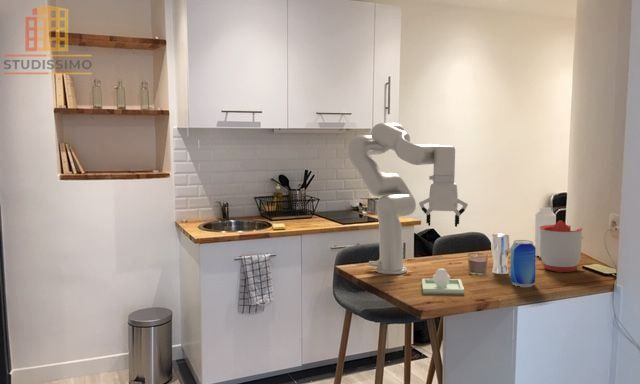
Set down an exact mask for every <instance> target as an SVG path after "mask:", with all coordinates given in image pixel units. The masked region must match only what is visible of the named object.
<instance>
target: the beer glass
mask: <svg viewBox="0 0 640 384" xmlns="http://www.w3.org/2000/svg"><path fill="white" fill-rule="evenodd" d="M490 243H491V244H490V248H491V257H492V262H493V266H492V271H491V272H492V273H493V274H495V275H507V274H509V269H508V268H509V267H508V260H509V256H510V251H511V246H510V243H511V242H510V235H509V234H505V233H504V234H503V233H494V234H491V242H490Z"/></svg>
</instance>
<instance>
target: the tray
mask: <svg viewBox="0 0 640 384" xmlns="http://www.w3.org/2000/svg"><path fill="white" fill-rule="evenodd" d="M421 286H422V294H423V295H456V296H457V295H458V296H459V295H460V296H462V295H465V288H464V285H463V282H462V279H461V278H450V280H449V283H448V285H447V287H446V288H438V287H437V286H436V284H435V282H434V279H433V278H421Z"/></svg>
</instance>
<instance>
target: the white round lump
mask: <svg viewBox="0 0 640 384" xmlns="http://www.w3.org/2000/svg"><path fill="white" fill-rule="evenodd" d="M432 279H434V282H435V284H436V286H437V287H438V288H446V287H447V285H448V283H449V280H450V279H451V276H450V275H449V273H448V272H447V269H445V268H442V267H440V268H437V269H436V271H435V274H433V275H432Z"/></svg>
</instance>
